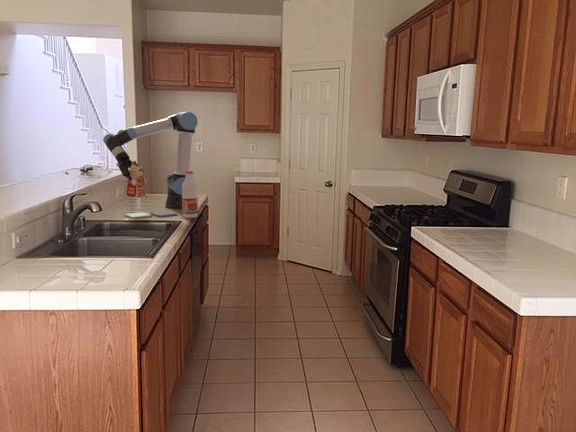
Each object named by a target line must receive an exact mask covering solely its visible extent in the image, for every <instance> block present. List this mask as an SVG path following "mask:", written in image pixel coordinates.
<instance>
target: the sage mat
mask: <svg viewBox="0 0 576 432" xmlns="http://www.w3.org/2000/svg"><path fill="white" fill-rule="evenodd" d="M124 217H125V218H129V219H132V220H137V218H138V219H145V218H153V215H151V213H150V214H149V213H147V212H144V211H141V212H134V213H133V212H132V213H124Z"/></svg>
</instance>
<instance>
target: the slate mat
mask: <svg viewBox="0 0 576 432" xmlns="http://www.w3.org/2000/svg"><path fill="white" fill-rule="evenodd" d="M150 215H152V216H155V217H157V218H165V217H174V216H178V213H177V212H173V211H171V210H164V211H154V212H150Z"/></svg>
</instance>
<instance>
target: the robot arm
mask: <svg viewBox="0 0 576 432" xmlns="http://www.w3.org/2000/svg"><path fill="white" fill-rule="evenodd" d="M198 122H199V121H198V117H197V116H196V114H195V113H193V112H192V111H186V110H185V111H181V112H177V113H175V114H172V115H169V116H168V117H167V118H163V119H159V120H156V121H152V122H148V123H144V124H141V125H136V126H130V127H127V128H123V129H119V130H118V132H117V133H116V134H114V133H106V134H105V135H104V137H103V139H102V140H103V143H104V144H105V146H106V148H107V149H108V151H110V153H111V154H112V156H113V158H114V159H115V160H116V162H117V163H116V166H117V167H118V169H119V170H120V173H121V174H122V176H123V177H125V178H126V179H127V180H128V179H129V180H130V181H131V182H132V184H133V185H134V186H135V185H136V183H137V182H136V180H135V179H134V177H133V176H132V175H131V174H130V173H129V169H130V168H131V167H132V164H133V165H136V166H140V165H139V164H138V163H137V161H136V160H134V161H133V160H131V159H130V155H129V154H128V153H127V151H126V149H125V148H124V145H126V144H128V143H130V142H132V141H133V140H135V139H138V138H143V137H146V136H151V135H155V134H159V133H163V132H168V131H172V132H173V131H176V132H177V134H178V138H177V139H178V140H177V152H176V163H175V171H174V172H172V173H168V174H167V176H166V182H167V183H166V184H167V185H166V186H167V187H166V188H167V197H166V200H165V203H164V204H165V205H164V207H165V208H169V209H182V192H183V189H182V184H183V182H184V180H185V177H186V174H185V172H186V171H190V162H191V153H192V152H191V151H192V142H193V141H192V140H193V136H194V135H195V133H196V127H197V126H198ZM144 173H145V171H144V170H143V176H144ZM147 183H148V180H147V179H146V177H145V176H144V184H145V185H146V184H147Z"/></svg>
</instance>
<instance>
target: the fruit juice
mask: <svg viewBox="0 0 576 432" xmlns="http://www.w3.org/2000/svg"><path fill="white" fill-rule="evenodd" d="M185 174H186V177H185V180H184V182H183V184H182V189H183V192H182V208H181V210H182V211H181V212H182V213H181V216H182V218H186V219H194V218H198V215H199V211H198V209H199V207H198V204H199V203H198V202H199V200H198V198H199V197H198V192H197V189H198V183H197V182H196V180H195V177H194V171H191V170H189V171H186V172H185Z"/></svg>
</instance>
